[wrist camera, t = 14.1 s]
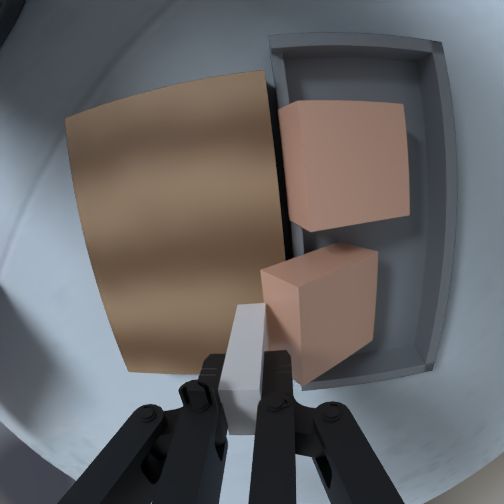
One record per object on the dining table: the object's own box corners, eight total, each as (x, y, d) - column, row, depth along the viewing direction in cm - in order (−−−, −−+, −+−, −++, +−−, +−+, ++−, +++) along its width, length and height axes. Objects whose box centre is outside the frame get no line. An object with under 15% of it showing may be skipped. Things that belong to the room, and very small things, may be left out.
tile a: (277, 109, 15) (297, 100, 12) (372, 108, 16) (403, 103, 13) (289, 219, 17) (310, 232, 14) (379, 205, 18) (409, 215, 15)
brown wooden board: (89, 119, 18) (64, 118, 15) (265, 81, 17) (264, 69, 14) (141, 349, 24) (128, 371, 21) (291, 344, 22) (293, 370, 20)
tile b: (260, 269, 16) (298, 287, 14) (339, 241, 19) (378, 251, 17) (270, 361, 18) (302, 386, 16) (339, 323, 21) (372, 339, 18)
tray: (269, 51, 16) (269, 35, 13) (420, 53, 15) (441, 42, 12) (299, 364, 23) (301, 390, 20) (419, 347, 22) (432, 370, 19)
